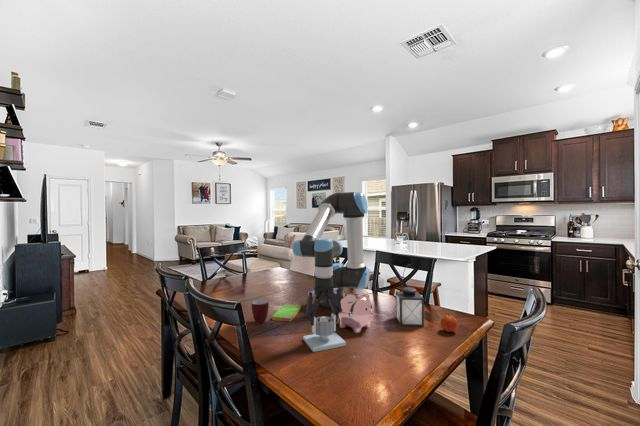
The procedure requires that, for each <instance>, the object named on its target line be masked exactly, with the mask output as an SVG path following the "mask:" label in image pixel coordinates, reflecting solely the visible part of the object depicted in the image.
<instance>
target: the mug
mask: <svg viewBox="0 0 640 426" xmlns="http://www.w3.org/2000/svg"><path fill="white" fill-rule="evenodd" d="M251 312H252V317H253V319H254V321H255V323H256V324H257V325H259V324H260V325H261V324H264V323H265V322H266V320H267V317H268V312H269V300H267V299H256V300H253V301H251Z"/></svg>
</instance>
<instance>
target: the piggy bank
mask: <svg viewBox="0 0 640 426" xmlns="http://www.w3.org/2000/svg"><path fill="white" fill-rule="evenodd" d="M342 294H343V298H342V299H341V301H340V302H341V308H342V312H341V313H339V315H338V318H339V320H340V323H339V328H341V329H345V328H347V327H349V328H351V329H352V330H353V333H354V334H355V333H356V334H358V333H361V332H362V329H363V328H367V329H368V328H370V327H371V322H372V320H373V318H374V317H375V311H374V306H373V304H372V301H371V299H370V294H369V293H366V294H359V293H358V294H357V293H347V294H346V295H344V294H345V292H344V293H342Z"/></svg>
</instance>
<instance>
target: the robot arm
mask: <svg viewBox="0 0 640 426" xmlns="http://www.w3.org/2000/svg"><path fill="white" fill-rule="evenodd" d="M367 213H368V199H367V196H366V195H365V194H364V193H363V192H361V191H350V192H349V191H346V192H334V193H332V194H330V195H328V196H327V197H325V198H324V199H323V200H322V201H321V202H320V203H319V206H318V208H317V213H316V215H315V216H314V218H313V220H312V221H311V222H310V225H309V227H308V228H307V230H306V231H305V233H304V236H303V237H302V239H296V240H295V241H293V243H292V244H293V245H292V252H293V255H294V256H295V257H296V256H297V257H302V258H314V289H313V290H311V291H310V290H308V291H307V301H306V306H305V313H304V314H305V316H306V317H308V318H309V324H310V326H311V333H312V334H316V318H317V317H316V313H317V311H318V308H319V306H320V305H321V306H322V307H324V308H329V309H331V311H332V313H331V315H330V316H331V318H333V319H334V332H336V331H337V326H336V325H337V324H336V323H337V322H338V318H339V316H338V315H339V313H341V312H342V308H341V302H340V301H341V299H342V298H343V294H342V293H344V295H345V291H344V288H348V289H357V290H359V289H360V290H364V289H366V288H367V287H368V285H369V281H370V275H371V270H370V268H369V267H367V263H366V262H365V261H364V247H363V246H364V245H363V244H364V243H363V222H362V221H363V218H365V215H366V214H367ZM337 214H339V215H341V214H342V218H343V219H344V220H345V224H346V225H345V226H346V227H345V228H346V246H347V262H346V263H345V265H344V263H341V262H336V263H333V262H334V260H333V259H337V258H339V256H340V255H342V254H343V250H344V249H343V245H342V244H341V242H340V241H338V240H333V239H332V238H326V237H325V238H324V237H323V238H322V235H323V234H324V232H325V229H326V228H327V226H328V224H329V222H330V220H331V219H332V218H333V217H334V216H335V215H337ZM314 296H315V298H314V302H313V297H314Z"/></svg>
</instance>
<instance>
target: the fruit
mask: <svg viewBox="0 0 640 426" xmlns="http://www.w3.org/2000/svg"><path fill="white" fill-rule="evenodd" d="M440 325H441V326H440V327H441V328H442V329H443V330H444V331H446V332H447V333H454V332H455V331H456V330H457V329H458V320H457V319H456V317H454V316H453V315H450V314H449V313H447V315H444V316H442V317H441V320H440Z"/></svg>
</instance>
